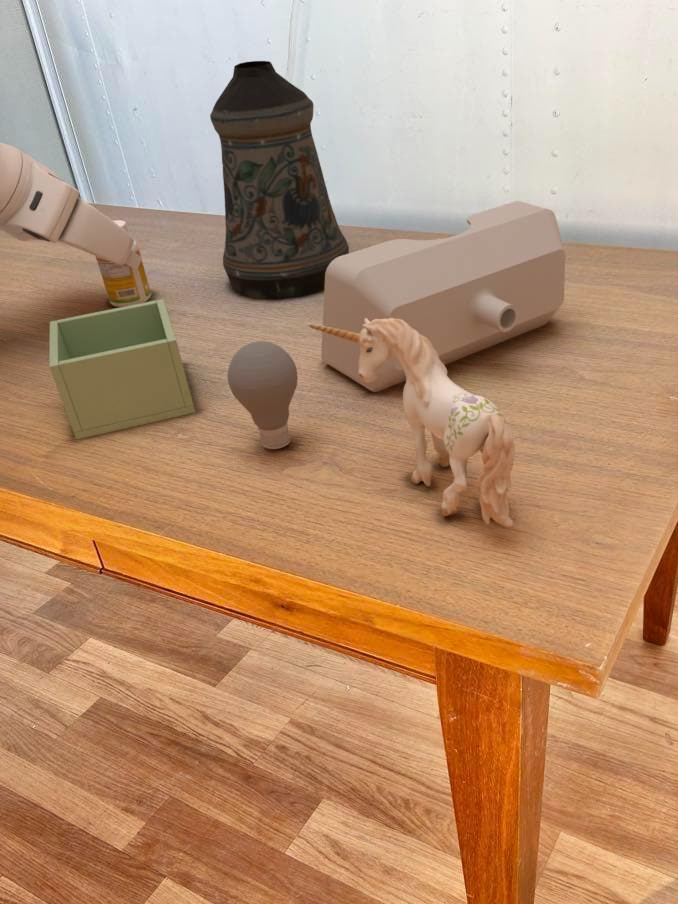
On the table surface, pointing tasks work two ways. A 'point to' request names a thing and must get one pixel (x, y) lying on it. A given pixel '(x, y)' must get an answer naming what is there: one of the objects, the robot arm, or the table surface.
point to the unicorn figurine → (441, 415)
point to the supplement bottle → (124, 279)
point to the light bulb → (265, 388)
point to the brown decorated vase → (273, 188)
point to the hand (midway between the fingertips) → (124, 257)
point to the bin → (118, 368)
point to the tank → (449, 288)
